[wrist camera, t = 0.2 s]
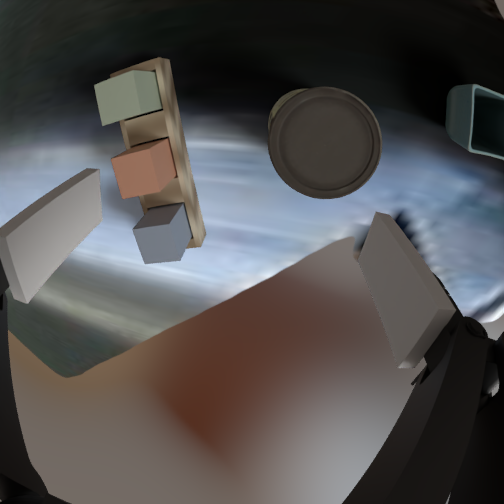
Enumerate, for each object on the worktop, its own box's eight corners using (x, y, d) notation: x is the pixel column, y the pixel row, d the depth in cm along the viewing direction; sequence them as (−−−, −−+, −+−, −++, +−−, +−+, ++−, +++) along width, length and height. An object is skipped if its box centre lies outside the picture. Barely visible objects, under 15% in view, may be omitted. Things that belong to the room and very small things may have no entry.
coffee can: (323, 175, 39) (347, 217, 27) (255, 142, 37) (248, 170, 25) (358, 111, 34) (401, 125, 22) (288, 75, 32) (299, 65, 20)
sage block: (122, 83, 30) (94, 85, 24) (156, 72, 30) (132, 70, 24) (129, 118, 33) (102, 126, 27) (163, 108, 32) (141, 113, 26)
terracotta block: (135, 146, 35) (110, 159, 29) (169, 137, 34) (149, 148, 28) (144, 180, 38) (122, 199, 32) (177, 173, 37) (160, 191, 31)
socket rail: (123, 74, 32) (110, 74, 29) (169, 59, 31) (159, 57, 28) (164, 238, 46) (156, 251, 42) (206, 233, 45) (200, 247, 41)
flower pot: (479, 93, 29) (516, 100, 21) (475, 145, 34) (510, 161, 26) (437, 80, 30) (472, 82, 22) (434, 136, 34) (467, 151, 27)
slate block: (151, 206, 40) (132, 229, 34) (184, 201, 39) (169, 224, 33) (161, 237, 42) (144, 264, 36) (192, 233, 41) (180, 260, 35)
